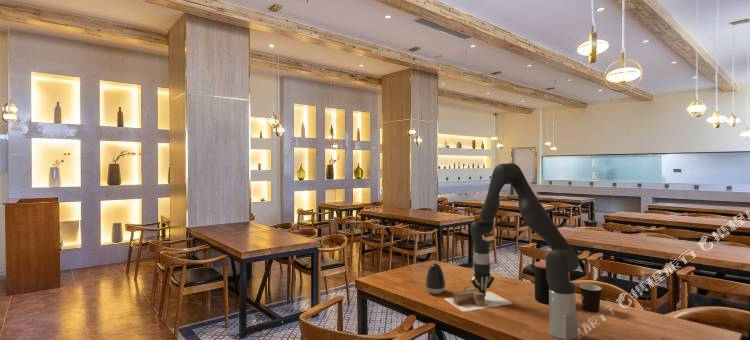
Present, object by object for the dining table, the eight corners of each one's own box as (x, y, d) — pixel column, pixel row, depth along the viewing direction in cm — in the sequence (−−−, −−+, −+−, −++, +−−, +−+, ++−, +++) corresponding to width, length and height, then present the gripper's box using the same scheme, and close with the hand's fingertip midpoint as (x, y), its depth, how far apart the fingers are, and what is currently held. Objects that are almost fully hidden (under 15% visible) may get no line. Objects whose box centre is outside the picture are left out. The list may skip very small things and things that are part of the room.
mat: (513, 304, 183) (512, 303, 183) (462, 312, 175) (462, 311, 174) (490, 292, 200) (489, 291, 200) (443, 299, 192) (443, 298, 192)
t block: (484, 304, 182) (484, 294, 182) (462, 308, 178) (462, 297, 178) (470, 296, 194) (470, 286, 193) (449, 299, 190) (449, 289, 190)
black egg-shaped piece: (422, 294, 199) (422, 265, 199) (429, 288, 208) (429, 260, 208) (441, 297, 194) (441, 267, 194) (448, 291, 204) (447, 262, 203)
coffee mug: (601, 314, 169) (601, 291, 169) (579, 310, 174) (579, 288, 173) (602, 305, 179) (602, 284, 179) (581, 302, 184) (580, 281, 183)
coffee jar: (561, 306, 180) (561, 267, 179) (537, 305, 182) (536, 266, 181) (555, 298, 190) (555, 261, 190) (532, 297, 192) (532, 260, 192)
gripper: (474, 265, 182) (474, 301, 183) (498, 262, 187) (498, 297, 187) (465, 261, 189) (466, 296, 190) (488, 258, 194) (489, 292, 194)
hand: (482, 297), depth 189 cm, fingers closed
